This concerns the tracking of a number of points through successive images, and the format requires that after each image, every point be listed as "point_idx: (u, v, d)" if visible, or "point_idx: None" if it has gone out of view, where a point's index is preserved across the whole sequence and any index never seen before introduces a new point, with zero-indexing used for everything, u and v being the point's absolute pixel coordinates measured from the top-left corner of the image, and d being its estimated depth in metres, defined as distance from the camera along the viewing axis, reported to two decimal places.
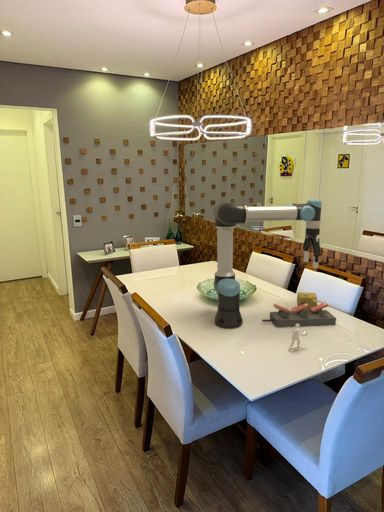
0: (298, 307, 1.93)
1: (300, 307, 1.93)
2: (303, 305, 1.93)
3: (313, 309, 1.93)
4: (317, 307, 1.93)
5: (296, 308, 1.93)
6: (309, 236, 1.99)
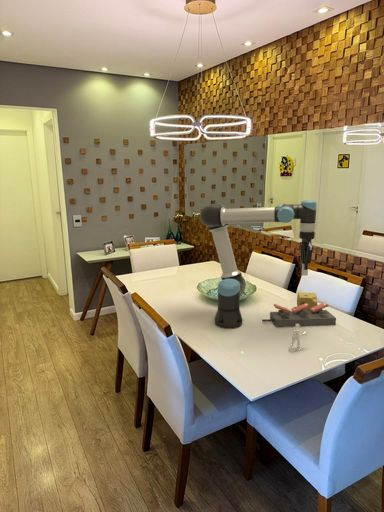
0: (298, 307, 1.93)
1: (300, 307, 1.93)
2: (303, 305, 1.93)
3: (313, 309, 1.93)
4: (317, 307, 1.93)
5: (296, 308, 1.93)
6: None
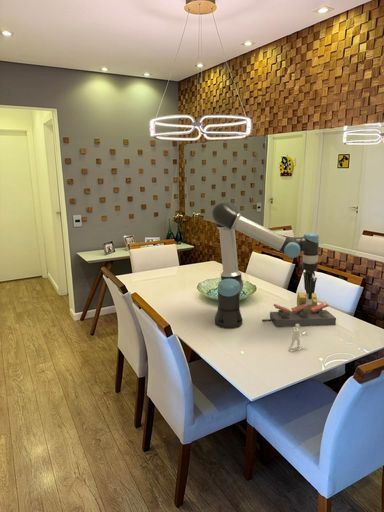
0: (298, 307, 1.93)
1: (300, 307, 1.93)
2: (303, 305, 1.93)
3: (313, 309, 1.93)
4: (317, 307, 1.93)
5: (296, 308, 1.93)
6: None
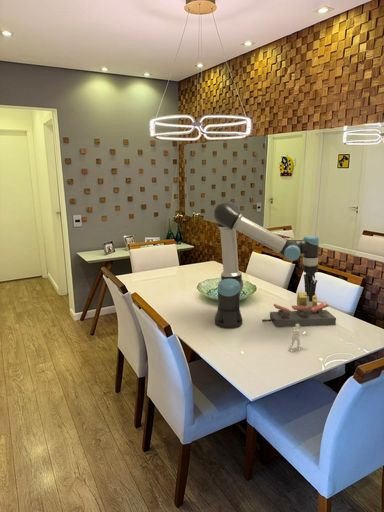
0: (299, 306, 1.93)
1: (301, 307, 1.93)
2: (304, 306, 1.93)
3: (313, 309, 1.93)
4: (317, 307, 1.93)
5: (297, 306, 1.93)
6: None
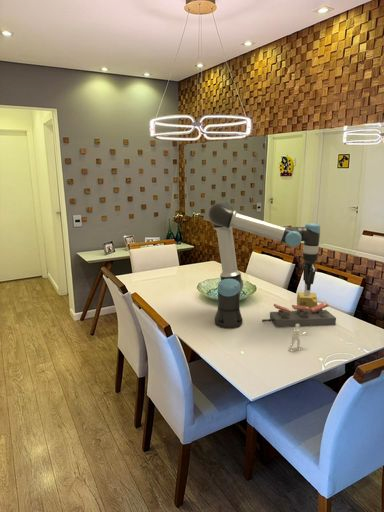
0: (299, 306, 1.93)
1: (301, 307, 1.93)
2: (304, 307, 1.94)
3: (313, 309, 1.93)
4: (317, 307, 1.93)
5: (297, 306, 1.93)
6: None
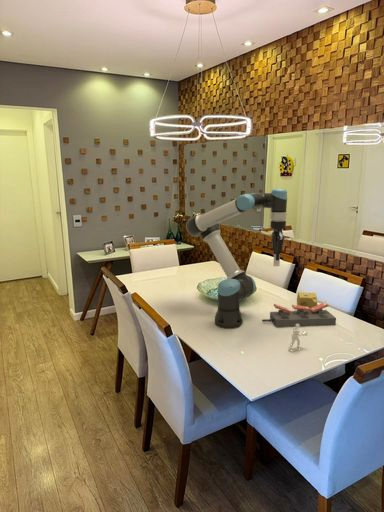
0: (299, 306, 1.93)
1: (301, 307, 1.93)
2: (304, 307, 1.94)
3: (313, 309, 1.93)
4: (317, 307, 1.93)
5: (297, 306, 1.93)
6: None
